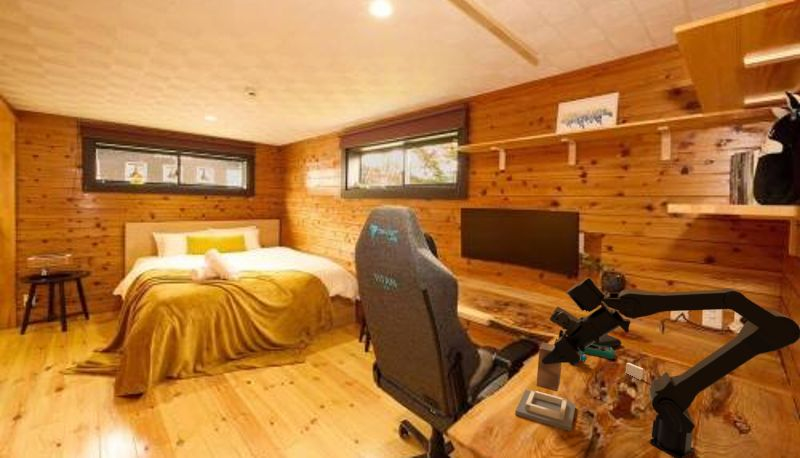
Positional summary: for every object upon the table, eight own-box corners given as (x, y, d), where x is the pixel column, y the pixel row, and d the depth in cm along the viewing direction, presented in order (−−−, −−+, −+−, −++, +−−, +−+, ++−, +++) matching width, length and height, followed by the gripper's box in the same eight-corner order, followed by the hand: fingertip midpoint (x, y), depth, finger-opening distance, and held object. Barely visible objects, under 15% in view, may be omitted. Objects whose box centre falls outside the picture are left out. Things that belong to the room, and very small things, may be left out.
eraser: (627, 373, 126) (628, 362, 125) (642, 379, 121) (643, 368, 121) (625, 373, 125) (626, 363, 125) (639, 380, 121) (641, 369, 120)
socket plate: (575, 407, 101) (576, 398, 101) (570, 431, 90) (571, 421, 90) (525, 393, 108) (525, 384, 108) (515, 414, 96) (515, 404, 96)
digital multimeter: (613, 361, 137) (614, 353, 136) (569, 351, 144) (569, 343, 143) (613, 354, 143) (614, 347, 143) (570, 345, 150) (571, 338, 150)
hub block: (559, 383, 100) (562, 346, 99) (557, 391, 95) (560, 352, 95) (539, 378, 102) (542, 342, 101) (536, 386, 98) (539, 348, 97)
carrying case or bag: (600, 337, 161) (574, 341, 155) (600, 330, 161) (575, 333, 155) (623, 347, 151) (597, 350, 146) (624, 339, 151) (598, 343, 145)
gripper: (575, 292, 103) (530, 324, 109) (567, 307, 87) (515, 343, 93) (605, 326, 100) (557, 357, 106) (603, 348, 84) (547, 383, 90)
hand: (544, 359), depth 99 cm, fingers closed on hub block, 5 cm apart
